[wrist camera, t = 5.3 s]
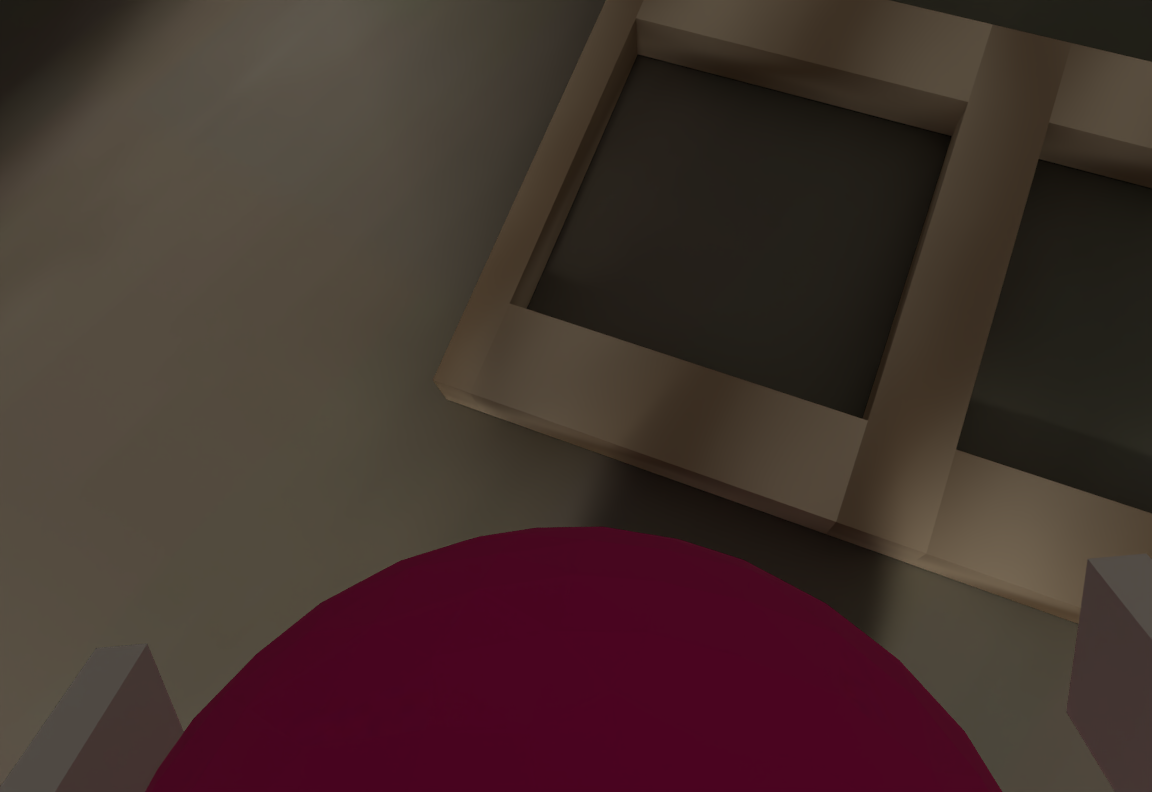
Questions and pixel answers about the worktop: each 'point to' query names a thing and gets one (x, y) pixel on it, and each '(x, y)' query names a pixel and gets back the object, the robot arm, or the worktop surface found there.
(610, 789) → the pepper mill
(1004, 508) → the board
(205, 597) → the worktop surface
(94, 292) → the worktop surface
